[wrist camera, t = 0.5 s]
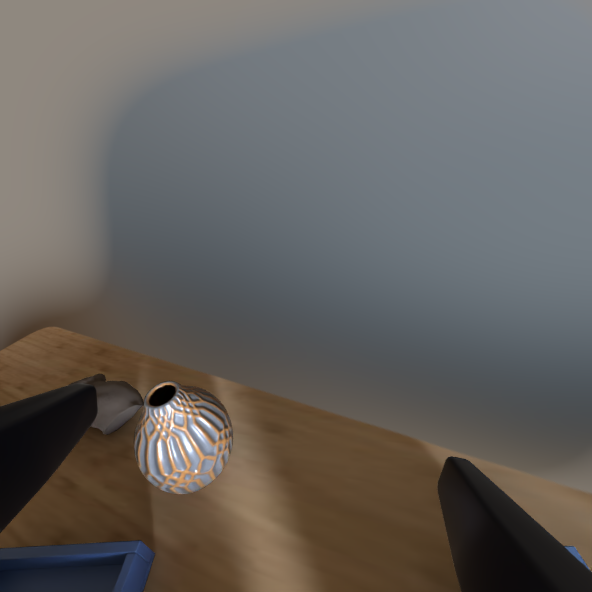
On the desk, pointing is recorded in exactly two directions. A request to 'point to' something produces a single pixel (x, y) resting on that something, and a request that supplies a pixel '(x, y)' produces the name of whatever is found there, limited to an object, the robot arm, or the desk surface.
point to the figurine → (113, 402)
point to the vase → (182, 438)
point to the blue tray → (76, 567)
